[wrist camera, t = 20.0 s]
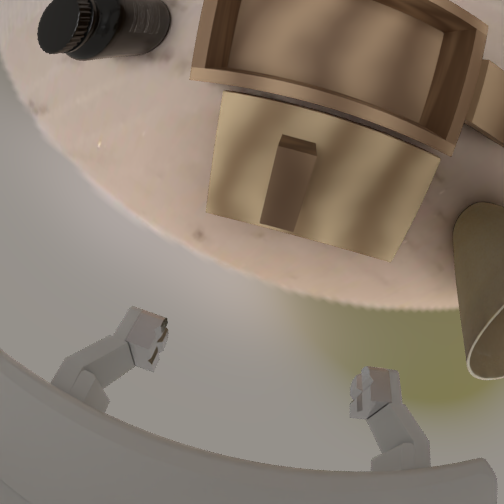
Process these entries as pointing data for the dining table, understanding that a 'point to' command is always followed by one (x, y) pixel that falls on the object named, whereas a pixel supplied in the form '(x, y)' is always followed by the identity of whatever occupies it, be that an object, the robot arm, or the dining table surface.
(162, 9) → the supplement bottle
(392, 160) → the lid
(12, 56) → the dining table surface
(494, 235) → the plant pot
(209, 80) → the open wooden box
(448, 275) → the dining table surface
